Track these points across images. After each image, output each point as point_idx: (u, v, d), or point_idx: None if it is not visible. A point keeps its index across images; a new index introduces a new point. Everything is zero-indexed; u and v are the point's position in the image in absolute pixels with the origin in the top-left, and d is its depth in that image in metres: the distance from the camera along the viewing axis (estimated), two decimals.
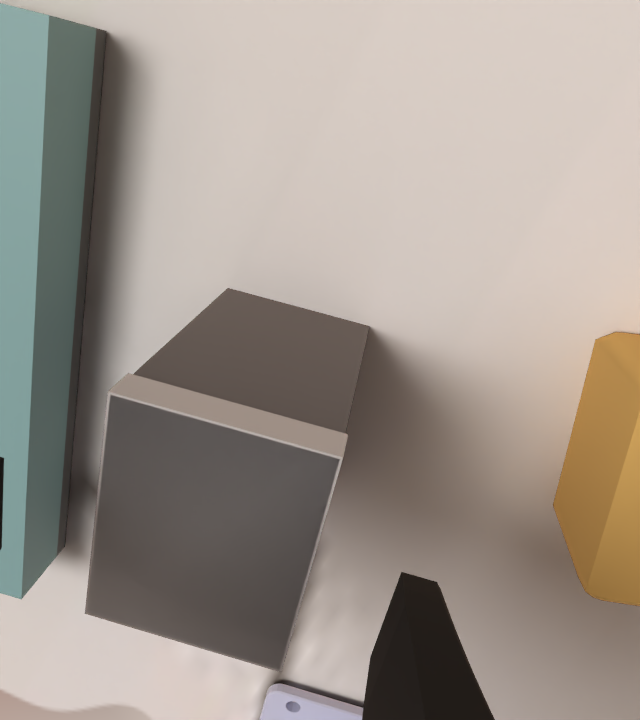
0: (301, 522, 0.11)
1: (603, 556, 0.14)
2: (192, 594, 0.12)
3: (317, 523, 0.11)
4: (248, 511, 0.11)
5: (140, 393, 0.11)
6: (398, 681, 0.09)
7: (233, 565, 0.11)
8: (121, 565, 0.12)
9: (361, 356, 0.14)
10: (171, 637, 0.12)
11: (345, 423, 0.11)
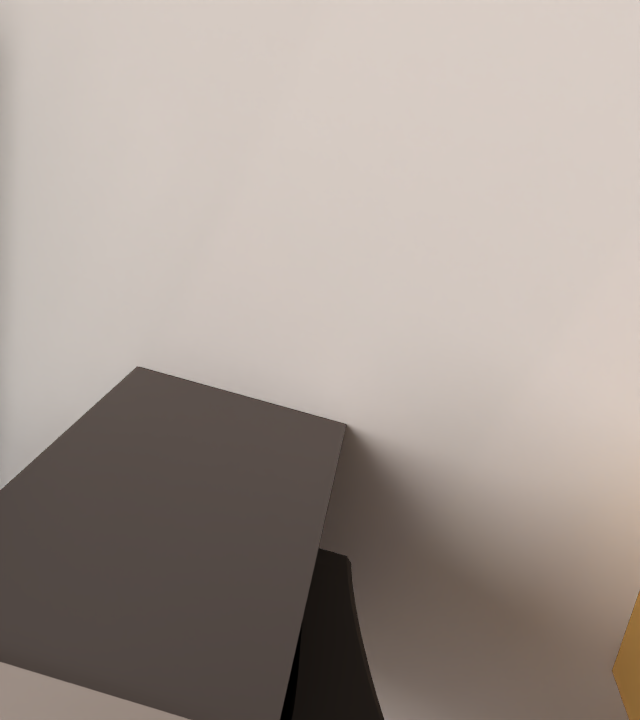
0: None
1: None
2: None
3: None
4: None
5: None
6: None
7: None
8: None
9: (327, 496, 0.09)
10: None
11: (279, 701, 0.06)
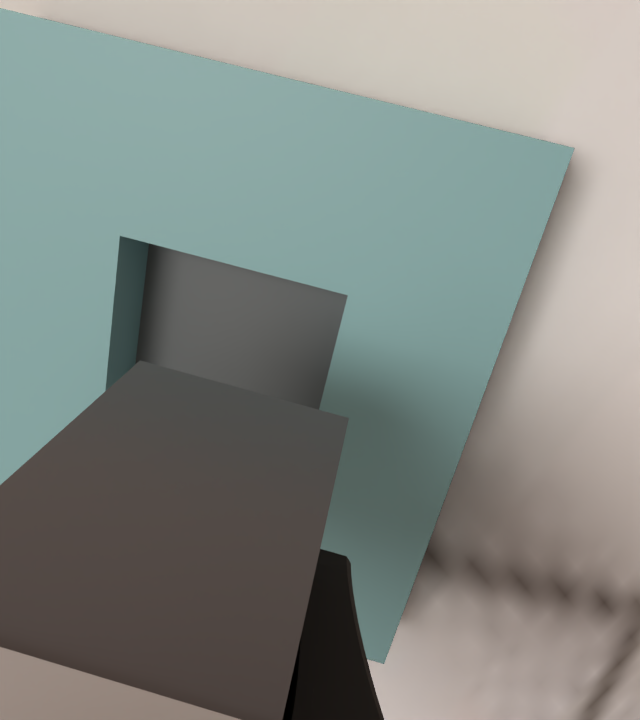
0: None
1: None
2: None
3: None
4: None
5: None
6: None
7: None
8: None
9: (331, 488, 0.09)
10: None
11: (284, 689, 0.06)
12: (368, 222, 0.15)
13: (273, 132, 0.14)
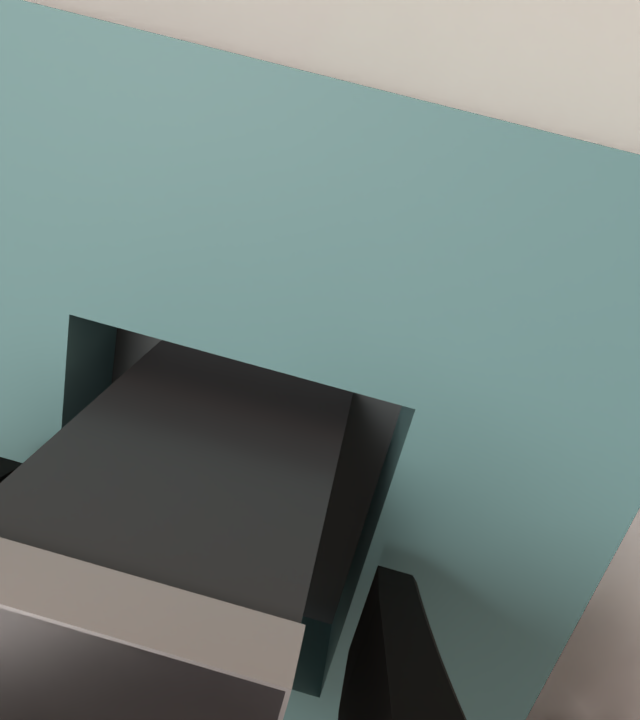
0: None
1: None
2: None
3: None
4: None
5: None
6: (370, 673, 0.09)
7: None
8: None
9: (339, 445, 0.10)
10: None
11: (303, 595, 0.07)
12: (453, 304, 0.09)
13: (307, 164, 0.09)
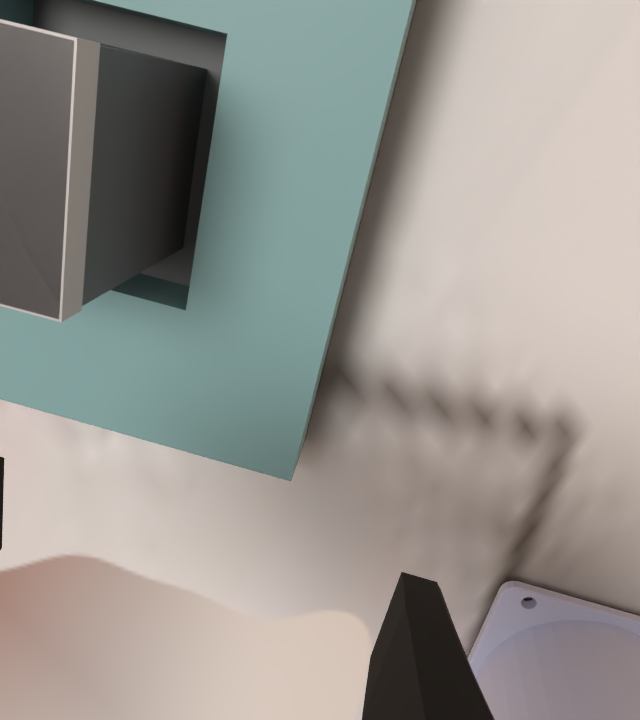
0: (50, 126, 0.11)
1: None
2: None
3: (66, 125, 0.11)
4: None
5: None
6: (398, 681, 0.09)
7: None
8: None
9: (175, 62, 0.14)
10: None
11: (107, 47, 0.11)
12: None
13: None
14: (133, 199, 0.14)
